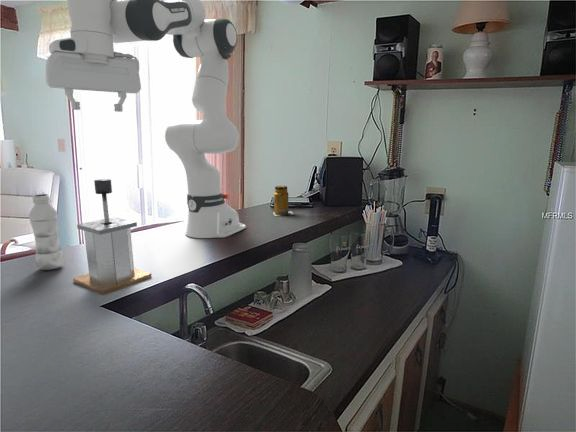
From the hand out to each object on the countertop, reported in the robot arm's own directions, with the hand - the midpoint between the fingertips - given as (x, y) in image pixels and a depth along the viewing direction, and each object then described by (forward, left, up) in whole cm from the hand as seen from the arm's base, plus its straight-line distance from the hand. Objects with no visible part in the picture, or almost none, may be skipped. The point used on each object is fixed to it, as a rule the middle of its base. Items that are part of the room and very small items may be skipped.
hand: (98, 110), depth 96 cm
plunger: (+3, +4, -33) cm, 33 cm away
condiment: (-82, -5, -41) cm, 92 cm away
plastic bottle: (+8, -17, -41) cm, 45 cm away
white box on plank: (+3, +4, -41) cm, 41 cm away
